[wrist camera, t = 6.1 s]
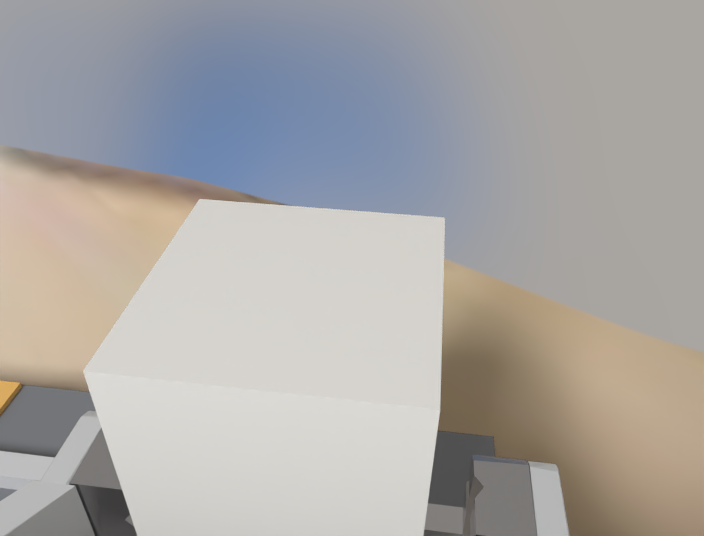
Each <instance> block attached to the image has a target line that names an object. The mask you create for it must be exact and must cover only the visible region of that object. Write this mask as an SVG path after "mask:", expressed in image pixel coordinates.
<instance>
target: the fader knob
mask: <svg viewBox="0 0 704 536" xmlns="http://www.w3.org/2000/svg"><path fill="white" fill-rule="evenodd" d="M444 233H445V218H442V217H428V216H414V215H401V214H388V213H376V212H363V211H350V210H336V209H323V208H310V207H297V206H284V205H271V204H258V203H245V202H231V201H218V200H205V199H199V201H198V202H197V204H196V205H195V207H194V208H193V209H192V211H191V212H190V214H189V215H188V217H187V218H186V220H185V221H184V223H183V224H182V226H181V227H180V229H179V230H178V232H177V233H176V235H175V236H174V238H173V239H172V240H171V242H170V243H169V245H168V246H167V248H166V249H165V251H164V252H163V254H162V255H161V257H160V258H159V260H158V261H157V263H156V264H155V266H154V267H153V269H152V270H151V271H150V273H149V274H148V276H147V277H146V279H145V280H144V282H143V283H142V285H141V286H140V288H139V289H138V291H137V292H136V294H135V295H134V297H133V298H132V300H131V301H130V302H129V304H128V305H127V307H126V308H125V310H124V311H123V313H122V314H121V316H120V317H119V319H118V320H117V322H116V323H115V325H114V326H113V328H112V329H111V331H110V332H109V333H108V335H107V336H106V338H105V339H104V341H103V342H102V344H101V345H100V347H99V348H98V350H97V351H96V353H95V354H94V356H93V357H92V359H91V360H90V362H89V363H88V364H87V366H86V367H85V369H84V370H83V373H84V376H85V379H86V382H87V385H88V388H89V391H90V394H91V397H92V400H93V403H94V406H95V409H96V412H97V415H98V418H99V422H100V425H101V428H102V431H103V434H104V437H105V440H106V443H107V446H108V449H109V452H110V455H111V458H112V461H113V464H114V467H115V470H116V473H117V476H118V479H119V482H120V485H121V488H122V491H123V494H124V497H125V500H126V503H127V506H128V509H129V512H130V515H131V518H132V521H133V524H134V527H135V530H136V533H137V536H423V535H424V527H425V520H426V512H427V505H428V497H429V490H430V482H431V475H432V467H433V460H434V452H435V445H436V437H437V430H438V422H439V415H440V398H441V357H442V317H443V277H444Z"/></svg>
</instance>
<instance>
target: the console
mask: <svg viewBox="0 0 704 536" xmlns="http://www.w3.org/2000/svg"><path fill="white" fill-rule="evenodd" d="M88 411H96V409H95V406H94V403H93V400H92V397H91V394H90V392H84V391H75V390H66V389H57V388H47V387H38V386H29V385H21V383H17V382H8V381H0V501H1V500H3V499H5V498H6V497H8V496H9V495H11V494H12V493H14V492H15V491H17V490H18V489H20V488H21V487H23V486H25V485H26V484H28V483H29V482H31V481H32V480H37V481H40V480H41V479H42V477H43V476H44V474H45V472H46V471H47V469H48V468H49V466H50V465H51V463H52V461H53V460H54V458H55V457H56V455H57V454H58V452H59V450H60V449H61V447H62V446H63V444H64V442H65V441H66V439H67V438H68V436H69V435H70V433H71V431H72V430H73V428H74V427H75V425H76V424H77V422H78V420H79V419H80V417H81V416H83V415H84V414H85V413H86V412H88ZM472 455H480V456H490V457H495V451H494V437H491V436H482V435H473V434H464V433H455V432H446V431H437V437H436V445H435V452H434V460H433V467H432V475H431V482H430V490H429V497H428V505H427V512H426V520H425V527H424V535H423V536H464V535H463V502H464V493H465V486H466V482H467V481H469V464H470V459H471V456H472Z"/></svg>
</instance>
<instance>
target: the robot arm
mask: <svg viewBox="0 0 704 536" xmlns="http://www.w3.org/2000/svg"><path fill="white" fill-rule="evenodd" d="M463 535H464V536H570V535H569V529H568V523H567V516H566V510H565V504H564V498H563V492H562V486H561V480H560V474H559V469H558V467H557V466H556V464H552V463H542V462H533V461H526V460H521V459H510V458H500V457H490V456H480V455H472V456H471V459H470V464H469V481H467V482H466V486H465V493H464V502H463ZM0 536H137V533H136V530H135V527H134V524H133V521H132V518H131V515H130V512H129V509H128V506H127V503H126V500H125V497H124V494H123V491H122V488H121V485H120V482H119V479H118V476H117V473H116V470H115V467H114V464H113V461H112V458H111V455H110V452H109V449H108V446H107V443H106V440H105V437H104V434H103V431H102V428H101V425H100V422H99V418H98V415H97V412H96V411H88V412H86V413H85V414H84V415H83V416H81V417H80V419H79V420H78V422H77V424H76V425H75V427H74V428H73V430H72V431H71V433H70V435H69V436H68V438H67V439H66V441H65V442H64V444H63V446H62V447H61V449H60V450H59V452H58V454H57V455H56V457H55V458H54V460H53V461H52V463H51V465H50V466H49V468H48V469H47V471H46V472H45V474H44V476H43V477H42V479H41V480H40V481H37V480H32V481H31V482H29V483H28V484H26V485H25V486H23V487H21V488H20V489H18V490H17V491H15V492H14V493H12V494H11V495H9V496H8V497H6V498H5V499H3V500H1V501H0Z"/></svg>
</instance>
